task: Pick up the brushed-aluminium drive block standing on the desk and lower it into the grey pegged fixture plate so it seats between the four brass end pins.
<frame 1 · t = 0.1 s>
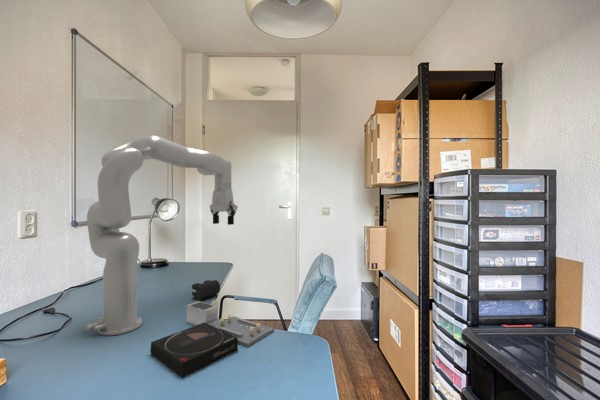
hand: (223, 224, 134), 31 cm above the table, tool pointing down, fingers open, 9 cm apart
end cap: (205, 298, 126), on the table
portable cd player: (194, 354, 81), on the table
grey pegged fixture plate: (240, 331, 93), on the table
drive: (202, 323, 100), on the table
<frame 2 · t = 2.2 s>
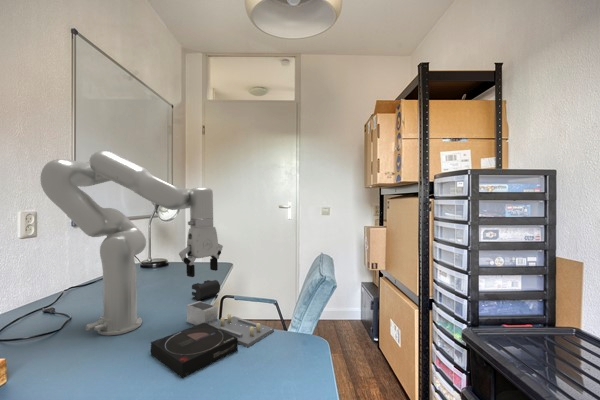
hand: (202, 273, 100), 17 cm above the table, tool pointing down, fingers open, 9 cm apart
nothing on the table moved.
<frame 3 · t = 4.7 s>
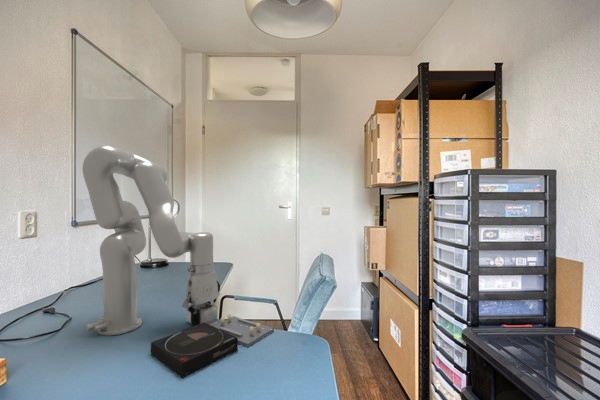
hand: (202, 320, 100), 1 cm above the table, tool pointing down, fingers closed on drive, 5 cm apart
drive: (202, 322, 100), on the table, touching gripper
everything else where it was.
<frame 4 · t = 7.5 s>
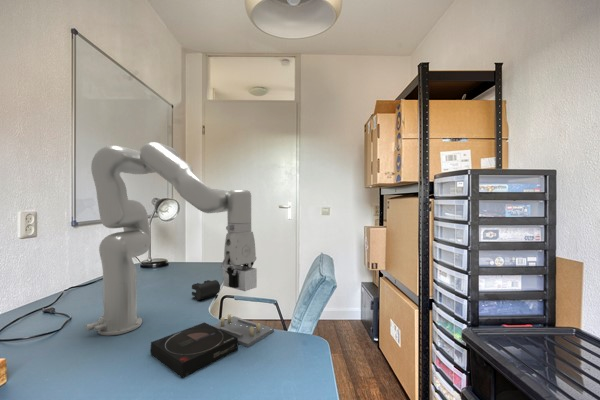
hand: (239, 284, 93), 15 cm above the table, tool pointing down, fingers closed on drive, 5 cm apart
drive: (239, 286, 93), point 15 cm above the table, touching gripper
everything else where it was.
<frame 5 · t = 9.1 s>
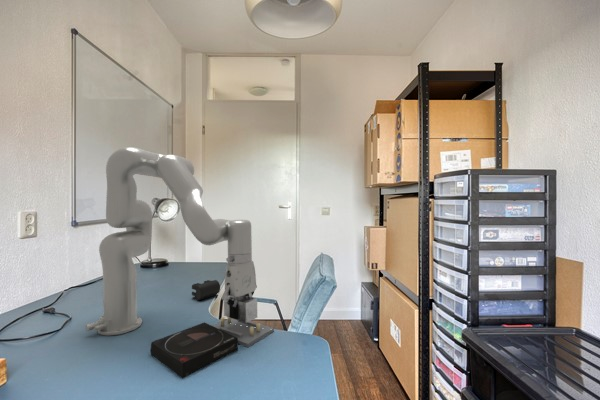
hand: (240, 314, 93), 6 cm above the table, tool pointing down, fingers closed on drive, 5 cm apart
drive: (240, 316, 93), point 5 cm above the table, touching gripper
everything else where it was.
when the fingers open (3 cm above the table, at t = 10.4 s): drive drops 1 cm, resting on grey pegged fixture plate.
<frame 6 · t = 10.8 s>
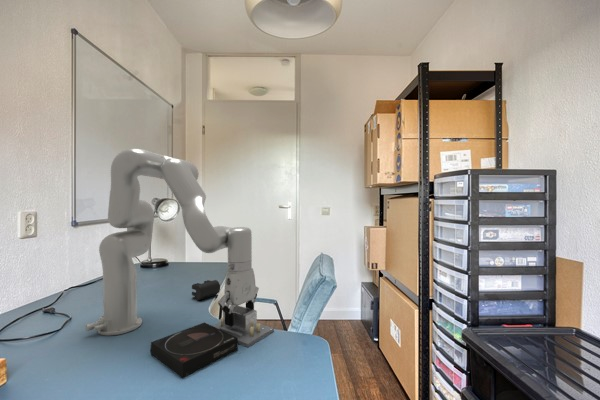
hand: (239, 319, 93), 4 cm above the table, tool pointing down, fingers open, 8 cm apart
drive: (239, 328, 93), point 1 cm above the table, touching grey pegged fixture plate
everything else where it was.
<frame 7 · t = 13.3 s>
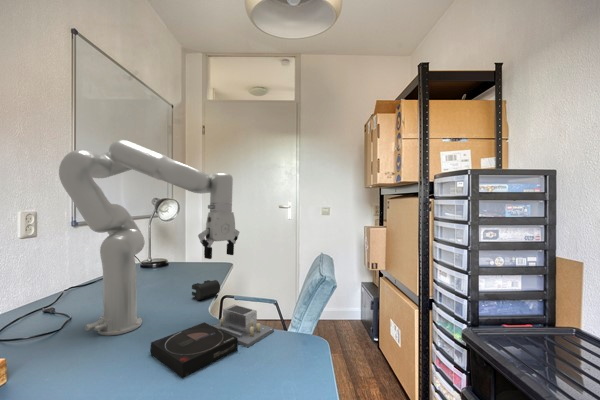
hand: (219, 256, 103), 22 cm above the table, tool pointing down, fingers open, 9 cm apart
nothing on the table moved.
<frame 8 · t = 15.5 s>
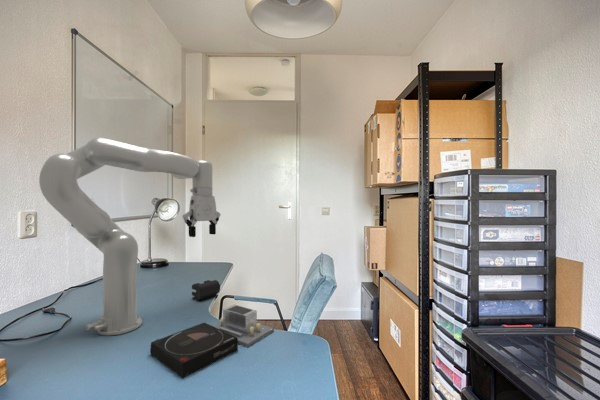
hand: (202, 235, 115), 28 cm above the table, tool pointing down, fingers open, 9 cm apart
nothing on the table moved.
at the end: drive 0.1 cm off-centre on the grey pegged fixture plate, point 1.0 cm above the grey pegged fixture plate's base; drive tilted 0°; the gripper is holding nothing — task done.
